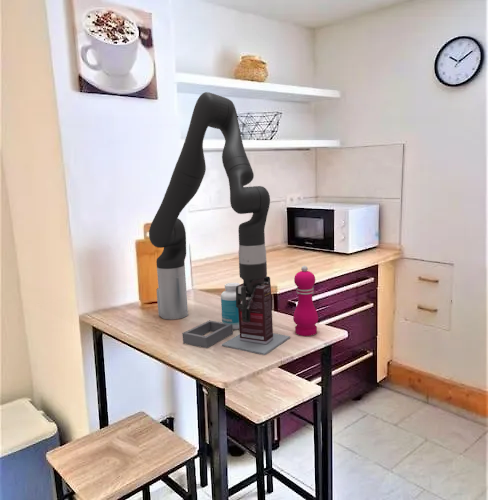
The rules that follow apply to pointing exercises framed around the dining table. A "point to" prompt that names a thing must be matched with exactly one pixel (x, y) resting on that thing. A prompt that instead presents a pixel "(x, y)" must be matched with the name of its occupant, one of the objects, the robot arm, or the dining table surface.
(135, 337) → the dining table surface
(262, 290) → the supplement box
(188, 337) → the gray rectangular frame
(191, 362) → the dining table surface
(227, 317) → the pill bottle
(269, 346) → the slate mat
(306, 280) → the pepper mill
